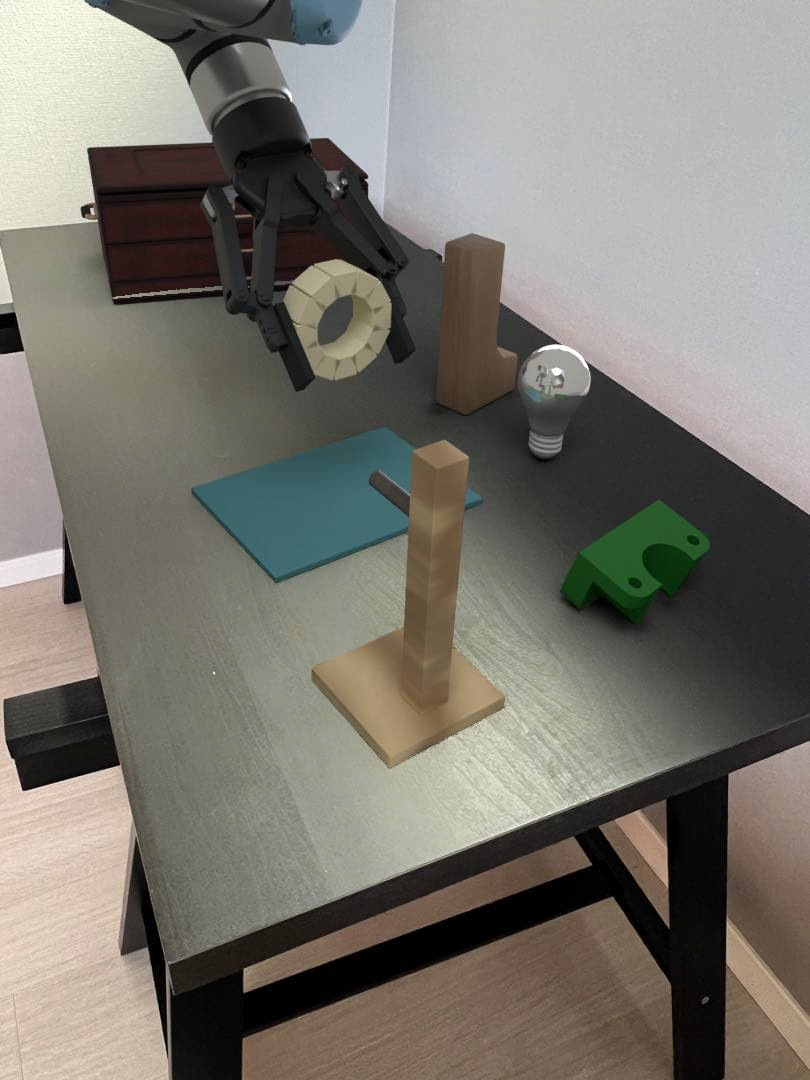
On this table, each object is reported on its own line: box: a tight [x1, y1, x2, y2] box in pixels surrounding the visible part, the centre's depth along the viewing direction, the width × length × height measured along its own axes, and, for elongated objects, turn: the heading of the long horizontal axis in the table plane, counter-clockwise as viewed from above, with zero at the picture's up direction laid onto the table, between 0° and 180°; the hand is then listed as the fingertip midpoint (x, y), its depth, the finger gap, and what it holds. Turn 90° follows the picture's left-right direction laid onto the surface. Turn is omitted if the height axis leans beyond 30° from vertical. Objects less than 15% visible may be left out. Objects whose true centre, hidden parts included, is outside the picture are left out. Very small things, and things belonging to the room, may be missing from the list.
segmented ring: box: [282, 259, 392, 381], centre depth 77 cm, size 9×3×9 cm, turn 125°
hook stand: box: [311, 439, 506, 769], centre depth 62 cm, size 10×10×21 cm
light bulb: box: [517, 344, 592, 461], centre depth 92 cm, size 7×7×12 cm
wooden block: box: [435, 232, 519, 416], centre depth 101 cm, size 9×4×18 cm, turn 138°
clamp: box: [559, 499, 711, 625], centre depth 77 cm, size 12×6×9 cm, turn 129°
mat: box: [190, 426, 483, 584], centre depth 88 cm, size 22×16×1 cm
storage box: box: [80, 137, 370, 305], centre depth 130 cm, size 39×23×15 cm, turn 108°
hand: (357, 370), depth 77 cm, fingers closed on segmented ring, 9 cm apart
